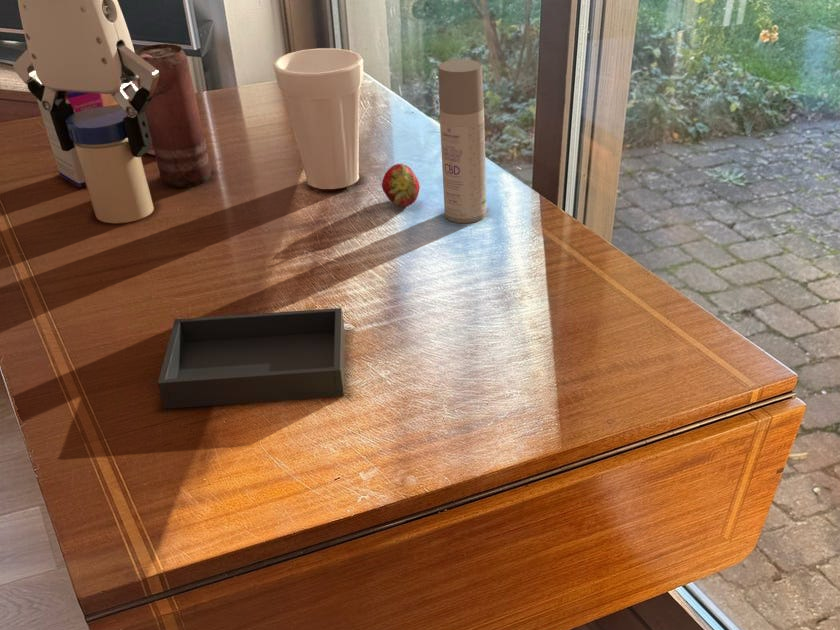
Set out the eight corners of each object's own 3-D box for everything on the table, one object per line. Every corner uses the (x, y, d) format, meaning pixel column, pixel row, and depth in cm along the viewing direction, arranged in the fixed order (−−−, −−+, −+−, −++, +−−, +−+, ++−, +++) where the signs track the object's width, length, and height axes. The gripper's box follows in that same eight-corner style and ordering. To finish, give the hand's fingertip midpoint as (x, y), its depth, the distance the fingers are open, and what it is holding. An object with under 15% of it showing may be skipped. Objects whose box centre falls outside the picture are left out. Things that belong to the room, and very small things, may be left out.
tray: (165, 409, 83) (157, 383, 81) (181, 344, 91) (174, 318, 89) (344, 396, 84) (340, 370, 82) (345, 332, 92) (341, 307, 90)
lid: (140, 121, 110) (136, 104, 109) (129, 143, 105) (124, 126, 104) (77, 124, 110) (72, 108, 108) (63, 146, 105) (58, 129, 104)
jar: (90, 225, 111) (63, 136, 104) (101, 202, 115) (75, 116, 109) (149, 221, 111) (126, 132, 104) (157, 199, 116) (135, 112, 109)
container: (441, 222, 109) (433, 72, 98) (448, 205, 112) (441, 58, 101) (483, 223, 108) (479, 72, 98) (489, 206, 111) (486, 58, 101)
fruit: (417, 193, 115) (414, 148, 111) (423, 213, 111) (420, 167, 107) (381, 196, 115) (377, 151, 111) (386, 216, 110) (382, 170, 107)
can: (151, 186, 118) (117, 56, 109) (178, 167, 123) (148, 40, 113) (195, 191, 117) (165, 59, 107) (221, 172, 121) (194, 43, 111)
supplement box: (81, 189, 119) (49, 84, 110) (59, 176, 122) (26, 73, 114) (124, 176, 121) (96, 72, 113) (102, 163, 124) (72, 62, 116)
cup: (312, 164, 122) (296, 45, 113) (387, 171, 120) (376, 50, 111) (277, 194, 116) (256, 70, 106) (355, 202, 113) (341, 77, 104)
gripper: (152, -44, 97) (194, 143, 109) (2, -50, 100) (58, 133, 113) (112, -27, 92) (160, 168, 104) (-45, -33, 95) (20, 156, 108)
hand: (107, 149), depth 108 cm, fingers open, 8 cm apart
